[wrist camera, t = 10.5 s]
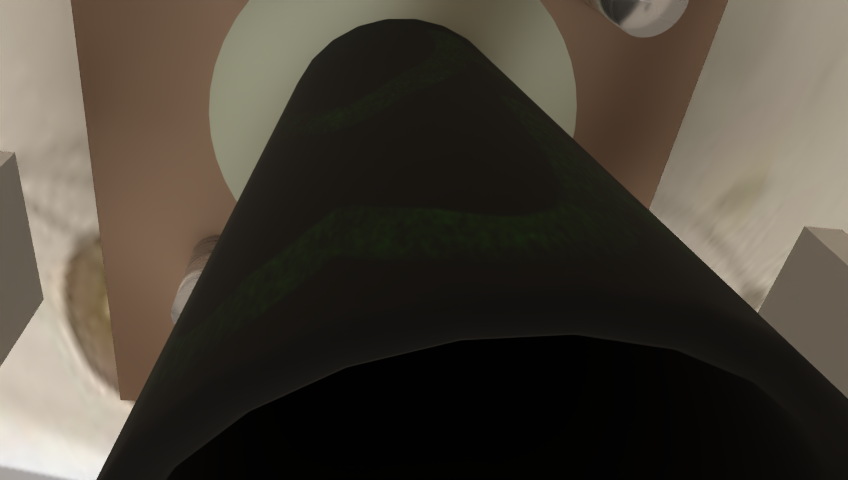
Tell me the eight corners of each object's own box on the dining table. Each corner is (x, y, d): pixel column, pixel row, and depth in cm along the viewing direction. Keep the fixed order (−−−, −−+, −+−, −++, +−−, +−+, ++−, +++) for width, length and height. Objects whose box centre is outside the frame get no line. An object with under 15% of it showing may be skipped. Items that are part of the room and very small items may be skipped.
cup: (578, 202, 18) (867, 675, 8) (324, 292, 19) (299, 825, 9) (503, -86, 14) (904, 139, 4) (184, 42, 15) (-165, 507, 5)
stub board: (800, -296, 14) (943, -335, 11) (559, 384, 24) (593, 473, 21) (44, -475, 12) (-81, -600, 8) (133, 366, 22) (94, 464, 18)
